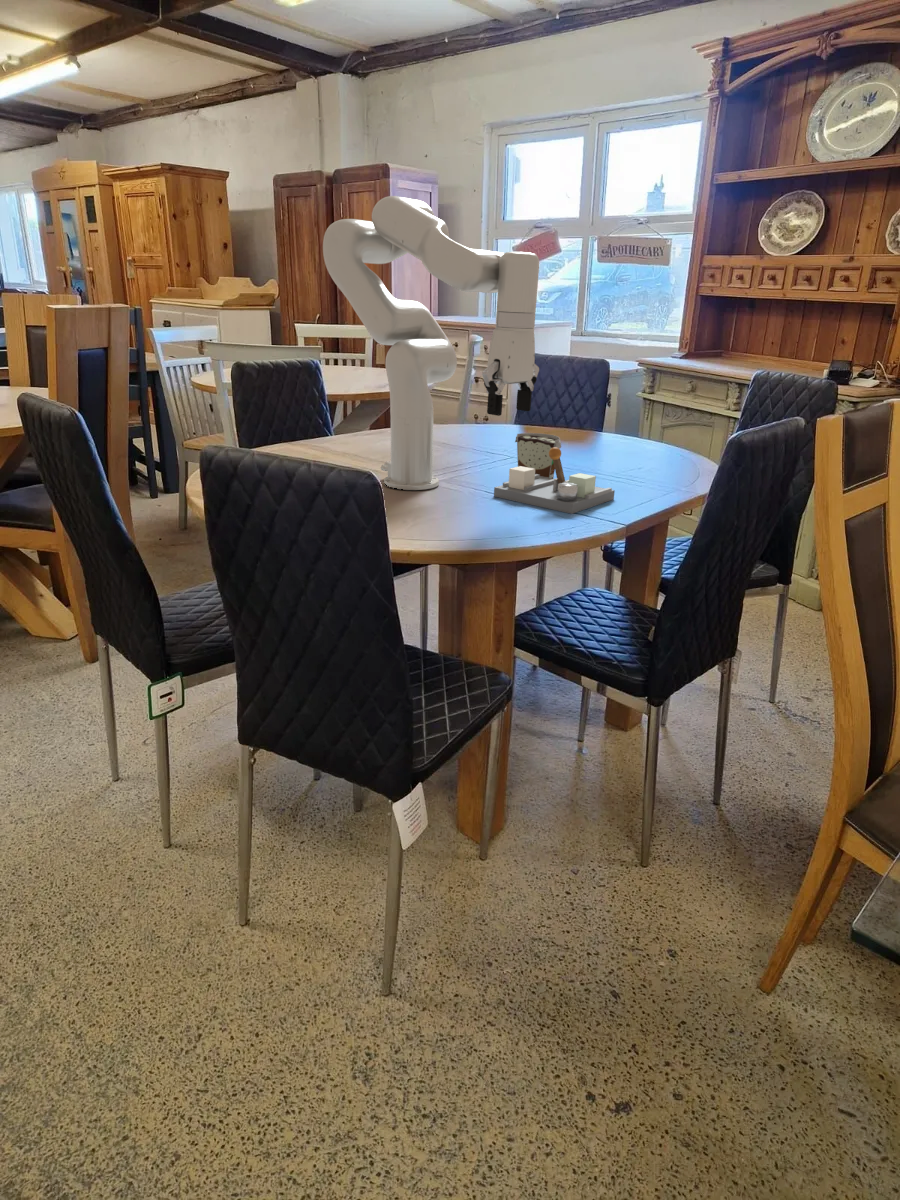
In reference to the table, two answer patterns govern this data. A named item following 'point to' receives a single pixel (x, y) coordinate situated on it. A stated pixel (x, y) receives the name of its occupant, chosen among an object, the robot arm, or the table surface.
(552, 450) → the lever
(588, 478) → the slider green
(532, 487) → the panel
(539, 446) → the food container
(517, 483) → the block
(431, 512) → the table surface
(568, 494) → the button
